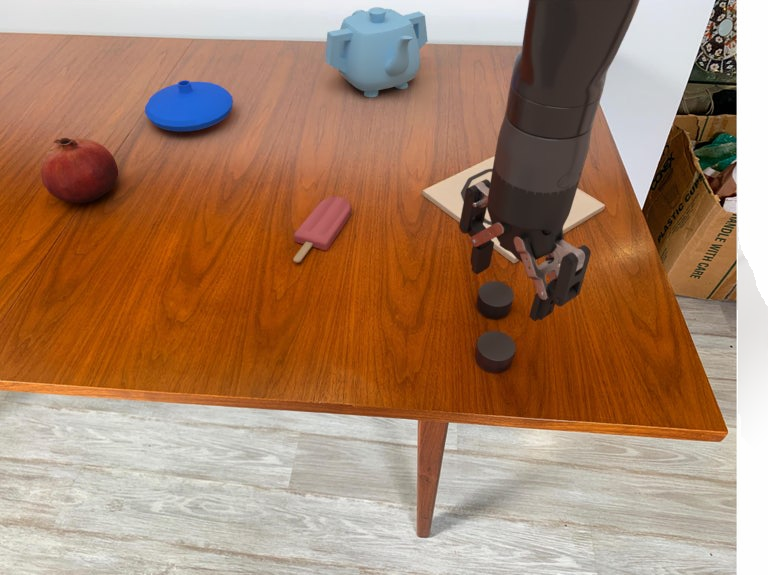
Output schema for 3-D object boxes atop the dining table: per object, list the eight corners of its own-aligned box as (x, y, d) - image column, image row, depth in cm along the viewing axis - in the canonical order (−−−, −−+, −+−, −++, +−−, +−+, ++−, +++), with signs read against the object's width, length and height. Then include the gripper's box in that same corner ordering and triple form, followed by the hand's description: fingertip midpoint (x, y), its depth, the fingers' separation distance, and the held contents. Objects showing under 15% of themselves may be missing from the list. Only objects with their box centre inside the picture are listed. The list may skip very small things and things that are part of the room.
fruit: (56, 222, 88) (27, 166, 80) (52, 186, 94) (24, 131, 87) (129, 204, 91) (108, 148, 84) (120, 170, 97) (99, 116, 90)
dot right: (518, 308, 76) (521, 295, 74) (493, 325, 74) (496, 311, 72) (493, 289, 78) (496, 276, 76) (469, 304, 76) (471, 291, 74)
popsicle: (278, 252, 81) (326, 192, 90) (279, 260, 82) (326, 200, 91) (312, 262, 79) (357, 200, 89) (313, 270, 80) (357, 208, 90)
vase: (204, 149, 102) (195, 112, 96) (131, 131, 106) (118, 94, 100) (251, 107, 112) (245, 71, 107) (182, 92, 116) (173, 57, 111)
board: (603, 210, 90) (605, 204, 89) (513, 264, 81) (515, 258, 81) (510, 152, 101) (511, 147, 100) (422, 195, 92) (422, 189, 92)
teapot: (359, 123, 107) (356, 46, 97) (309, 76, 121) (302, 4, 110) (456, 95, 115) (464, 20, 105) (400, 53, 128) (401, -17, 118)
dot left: (520, 361, 70) (523, 348, 68) (493, 379, 68) (496, 367, 66) (493, 337, 72) (496, 324, 70) (467, 355, 70) (469, 342, 69)
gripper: (633, 187, 48) (583, 316, 60) (508, 116, 56) (486, 242, 68) (573, 222, 45) (533, 351, 57) (450, 141, 53) (437, 269, 64)
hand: (507, 291), depth 62 cm, fingers open, 8 cm apart
